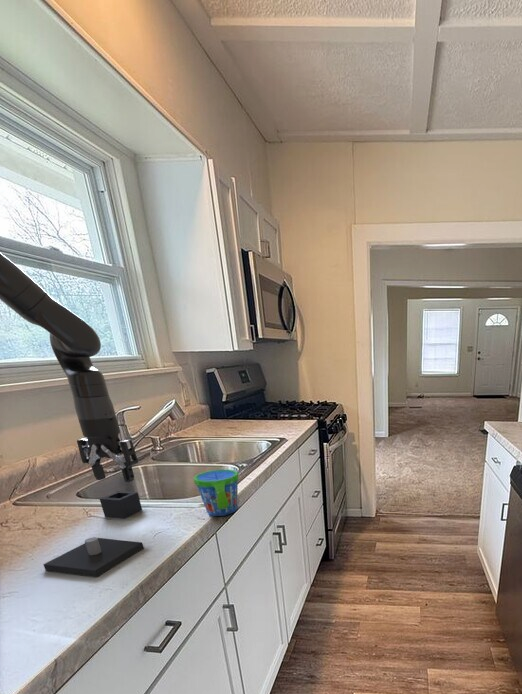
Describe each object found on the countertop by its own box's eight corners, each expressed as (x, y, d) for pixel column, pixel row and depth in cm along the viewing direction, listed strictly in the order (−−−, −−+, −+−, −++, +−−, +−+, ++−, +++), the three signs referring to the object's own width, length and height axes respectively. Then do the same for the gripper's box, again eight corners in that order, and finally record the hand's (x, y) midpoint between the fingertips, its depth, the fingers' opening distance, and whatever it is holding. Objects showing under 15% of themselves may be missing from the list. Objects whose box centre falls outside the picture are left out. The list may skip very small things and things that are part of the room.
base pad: (45, 571, 78) (37, 550, 76) (97, 543, 89) (91, 525, 87) (97, 577, 76) (90, 556, 74) (144, 548, 87) (139, 529, 85)
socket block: (104, 516, 103) (99, 498, 101) (123, 508, 108) (118, 490, 106) (124, 518, 102) (119, 500, 100) (142, 509, 107) (137, 492, 105)
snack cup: (202, 504, 111) (195, 468, 107) (242, 499, 114) (237, 464, 110) (199, 526, 97) (191, 486, 93) (244, 520, 101) (238, 481, 97)
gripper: (57, 417, 93) (79, 483, 99) (108, 419, 90) (127, 486, 97) (85, 412, 100) (104, 474, 106) (134, 413, 97) (150, 477, 103)
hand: (115, 480), depth 101 cm, fingers open, 8 cm apart
